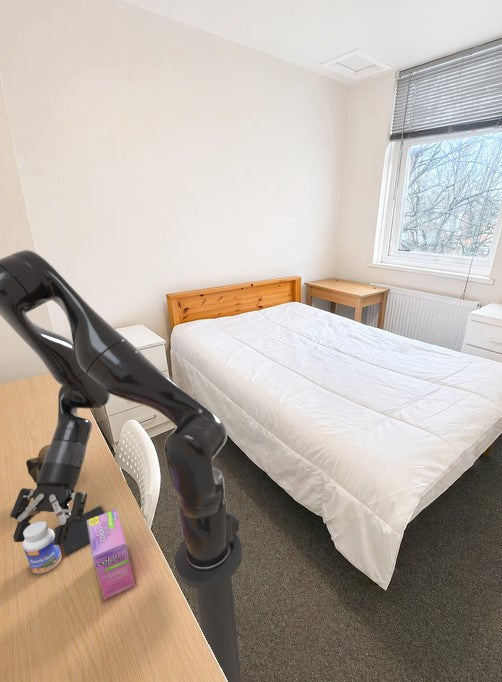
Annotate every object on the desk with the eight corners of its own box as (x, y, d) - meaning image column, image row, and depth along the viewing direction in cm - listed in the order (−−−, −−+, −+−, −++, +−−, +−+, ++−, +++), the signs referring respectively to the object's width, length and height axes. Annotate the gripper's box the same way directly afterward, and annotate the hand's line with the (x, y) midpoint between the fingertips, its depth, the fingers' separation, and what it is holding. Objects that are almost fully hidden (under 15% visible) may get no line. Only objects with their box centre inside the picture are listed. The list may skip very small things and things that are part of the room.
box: (136, 585, 71) (125, 542, 66) (104, 601, 68) (91, 557, 63) (126, 548, 78) (116, 508, 74) (98, 561, 76) (85, 519, 71)
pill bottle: (31, 579, 72) (17, 544, 68) (32, 559, 76) (19, 525, 72) (62, 565, 74) (50, 531, 71) (62, 547, 79) (50, 514, 75)
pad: (100, 507, 90) (99, 505, 90) (115, 529, 83) (114, 527, 83) (55, 529, 83) (54, 528, 83) (67, 555, 77) (66, 554, 77)
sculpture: (83, 461, 101) (69, 436, 90) (81, 497, 95) (66, 475, 84) (39, 468, 98) (19, 443, 86) (34, 507, 92) (12, 485, 80)
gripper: (20, 459, 76) (-10, 542, 70) (83, 462, 75) (58, 547, 69) (45, 463, 83) (20, 539, 76) (103, 467, 82) (82, 544, 76)
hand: (38, 543), depth 73 cm, fingers open, 8 cm apart
